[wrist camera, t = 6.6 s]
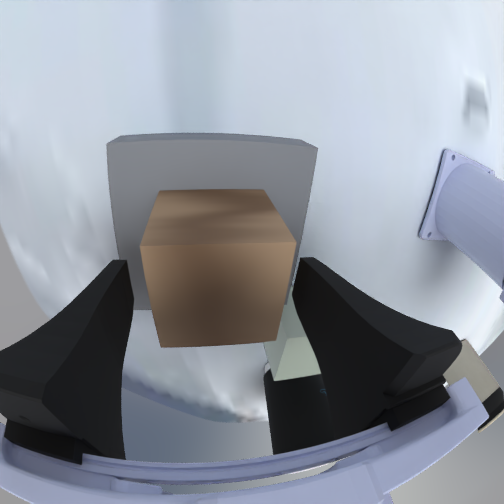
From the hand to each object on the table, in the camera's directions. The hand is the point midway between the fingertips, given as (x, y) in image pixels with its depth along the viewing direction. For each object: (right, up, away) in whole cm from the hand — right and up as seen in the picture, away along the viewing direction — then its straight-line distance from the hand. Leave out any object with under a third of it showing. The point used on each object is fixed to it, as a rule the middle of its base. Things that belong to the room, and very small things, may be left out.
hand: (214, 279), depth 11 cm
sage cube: (+5, -4, +11) cm, 12 cm away
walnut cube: (-1, +2, +3) cm, 3 cm away
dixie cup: (+5, -10, +15) cm, 19 cm away
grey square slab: (-1, +3, +5) cm, 6 cm away
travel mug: (+40, -18, +28) cm, 52 cm away
